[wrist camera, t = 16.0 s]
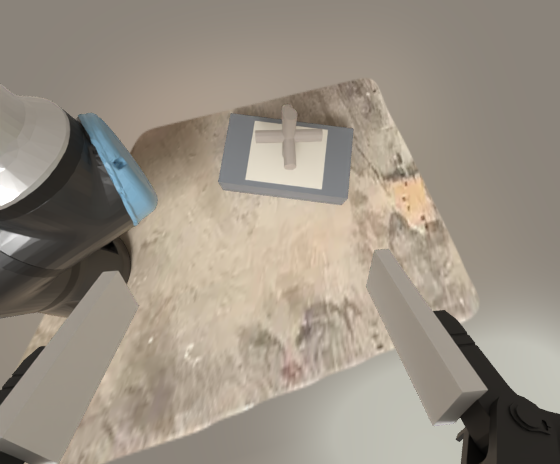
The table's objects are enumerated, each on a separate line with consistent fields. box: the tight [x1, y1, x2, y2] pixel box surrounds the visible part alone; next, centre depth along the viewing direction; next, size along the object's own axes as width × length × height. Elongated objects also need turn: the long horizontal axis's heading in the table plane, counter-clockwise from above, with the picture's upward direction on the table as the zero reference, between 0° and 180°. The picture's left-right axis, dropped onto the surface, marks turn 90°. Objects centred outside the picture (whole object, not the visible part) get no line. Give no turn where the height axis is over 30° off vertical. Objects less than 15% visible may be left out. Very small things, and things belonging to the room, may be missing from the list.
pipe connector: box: [255, 104, 323, 170], centre depth 36 cm, size 10×10×10 cm
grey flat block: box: [218, 113, 353, 205], centre depth 43 cm, size 22×13×4 cm, turn 83°
